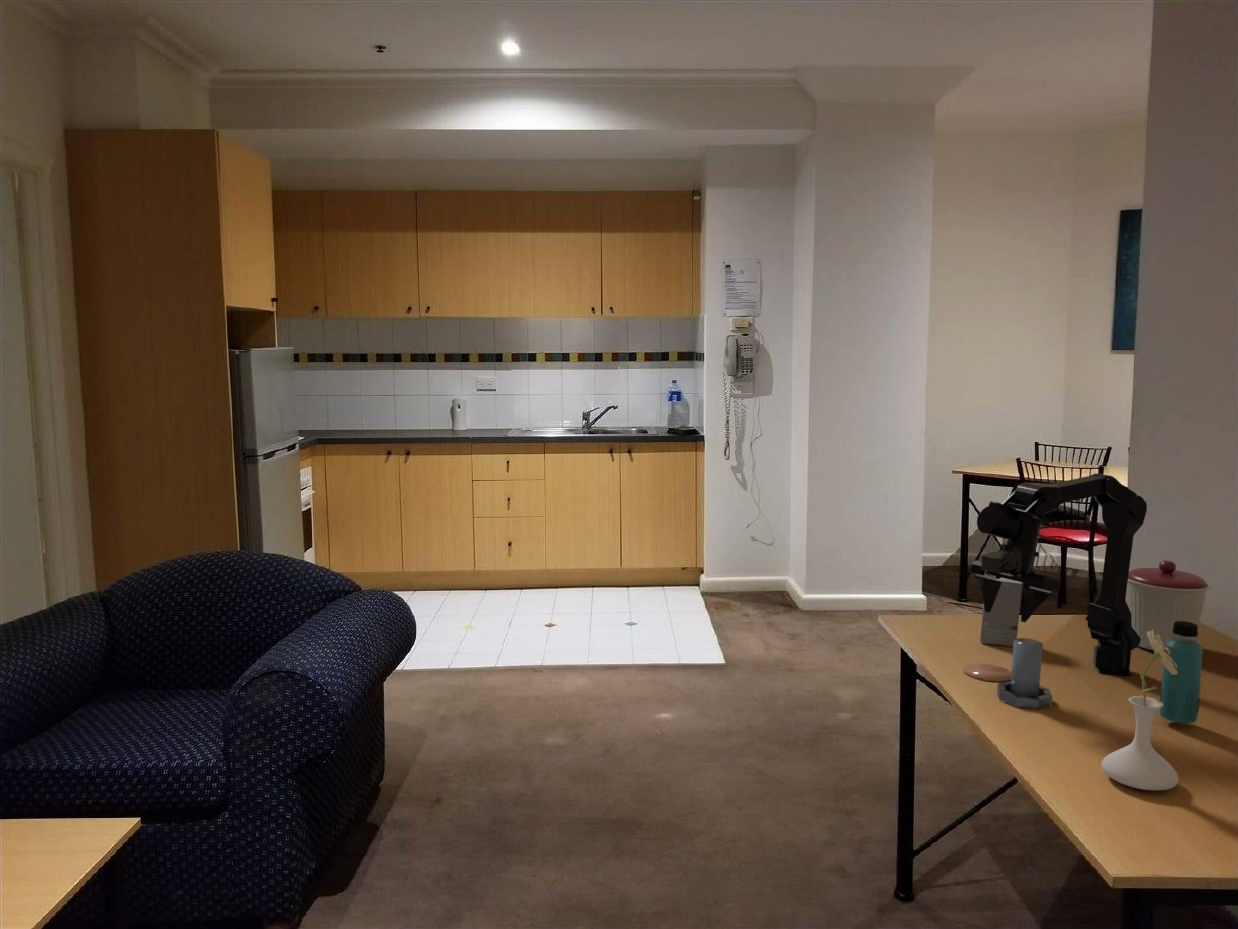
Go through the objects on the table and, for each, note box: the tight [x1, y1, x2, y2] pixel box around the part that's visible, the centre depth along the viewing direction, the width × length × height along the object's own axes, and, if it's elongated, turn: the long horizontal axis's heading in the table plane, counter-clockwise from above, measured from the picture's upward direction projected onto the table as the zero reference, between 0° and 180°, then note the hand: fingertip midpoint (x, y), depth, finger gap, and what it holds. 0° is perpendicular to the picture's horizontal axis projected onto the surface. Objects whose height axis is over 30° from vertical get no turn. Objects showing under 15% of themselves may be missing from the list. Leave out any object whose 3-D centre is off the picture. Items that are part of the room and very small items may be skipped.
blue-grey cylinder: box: [1010, 637, 1044, 697], centre depth 195 cm, size 5×5×12 cm
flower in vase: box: [1100, 630, 1180, 791], centre depth 159 cm, size 13×11×25 cm
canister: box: [1126, 559, 1211, 652], centre depth 230 cm, size 18×18×21 cm
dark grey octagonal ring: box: [996, 680, 1053, 710], centre depth 196 cm, size 10×10×2 cm
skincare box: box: [979, 578, 1023, 648], centre depth 232 cm, size 8×7×16 cm
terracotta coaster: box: [963, 663, 1012, 682], centre depth 210 cm, size 10×10×1 cm
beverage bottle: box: [1159, 621, 1204, 724], centre depth 183 cm, size 6×7×20 cm
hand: (1004, 617), depth 200 cm, fingers open, 9 cm apart
